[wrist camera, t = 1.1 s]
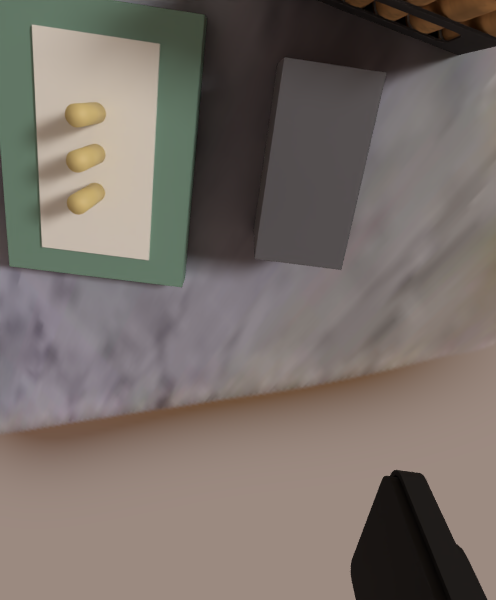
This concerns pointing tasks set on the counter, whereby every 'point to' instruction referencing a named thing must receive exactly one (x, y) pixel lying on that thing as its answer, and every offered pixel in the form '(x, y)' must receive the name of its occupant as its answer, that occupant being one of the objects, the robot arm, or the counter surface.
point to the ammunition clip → (432, 20)
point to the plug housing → (314, 161)
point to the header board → (99, 136)
